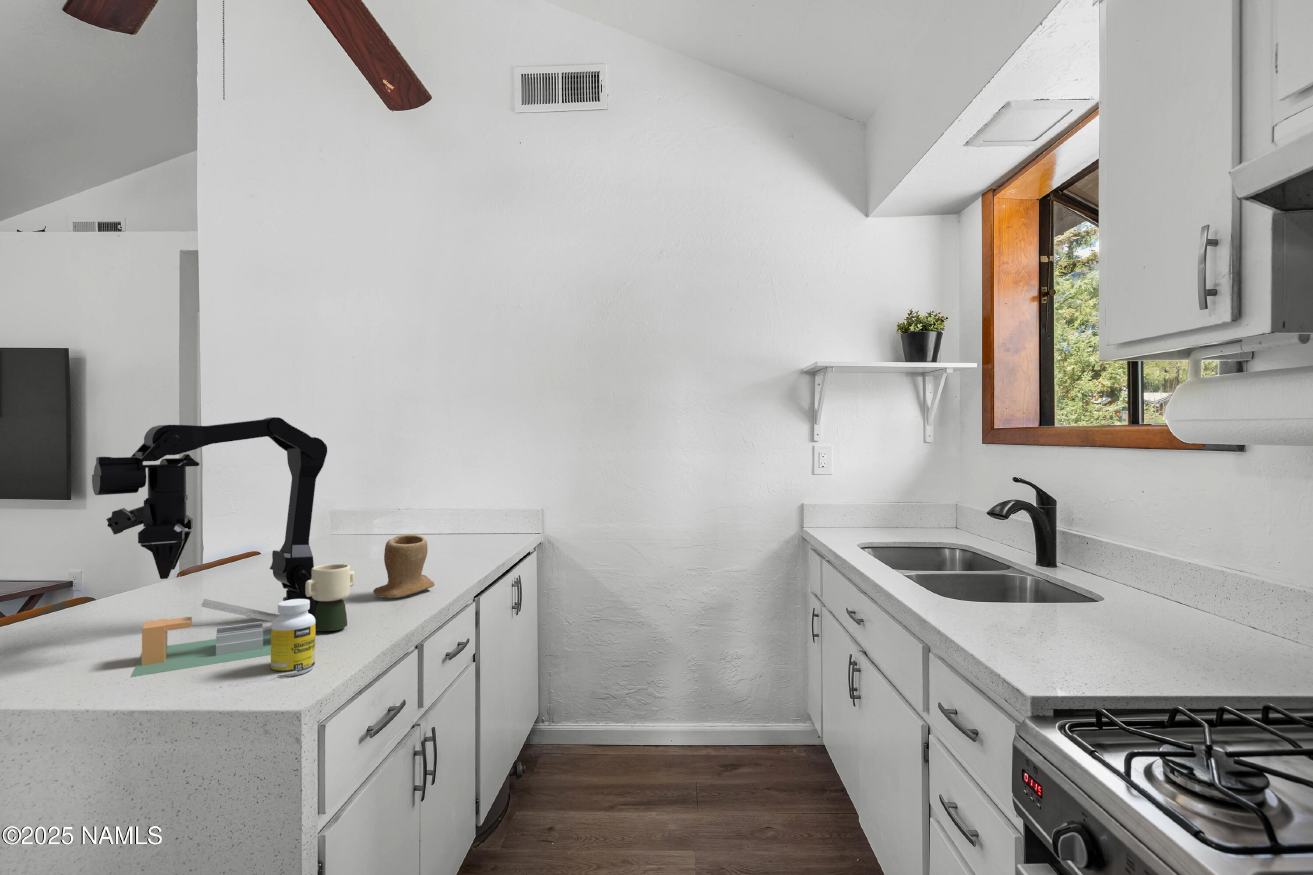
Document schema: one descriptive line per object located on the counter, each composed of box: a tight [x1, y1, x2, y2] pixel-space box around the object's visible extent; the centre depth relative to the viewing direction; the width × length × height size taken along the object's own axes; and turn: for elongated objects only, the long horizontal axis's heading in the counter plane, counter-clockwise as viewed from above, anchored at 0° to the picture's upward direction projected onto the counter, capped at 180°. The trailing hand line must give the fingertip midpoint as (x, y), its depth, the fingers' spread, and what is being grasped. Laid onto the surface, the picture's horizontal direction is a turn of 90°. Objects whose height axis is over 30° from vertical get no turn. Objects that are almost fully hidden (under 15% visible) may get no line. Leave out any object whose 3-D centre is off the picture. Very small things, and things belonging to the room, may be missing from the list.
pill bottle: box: [270, 599, 316, 678], centre depth 105 cm, size 6×6×12 cm
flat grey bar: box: [200, 598, 279, 622], centre depth 115 cm, size 14×4×1 cm, turn 124°
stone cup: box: [372, 533, 435, 599], centre depth 158 cm, size 15×12×15 cm
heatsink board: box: [130, 621, 271, 678], centre depth 113 cm, size 23×16×6 cm
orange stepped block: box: [141, 616, 193, 666], centre depth 108 cm, size 6×5×6 cm
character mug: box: [306, 563, 355, 633], centre depth 128 cm, size 11×7×13 cm, turn 155°
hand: (167, 574), depth 117 cm, fingers open, 9 cm apart
